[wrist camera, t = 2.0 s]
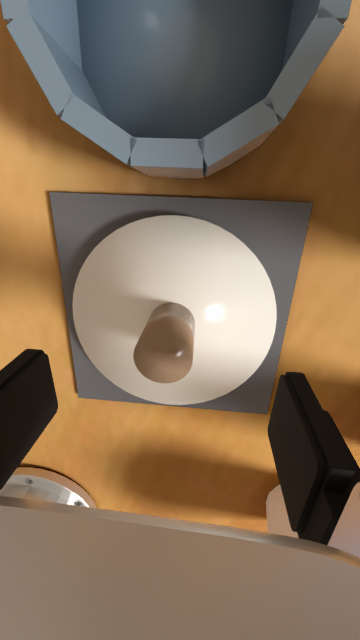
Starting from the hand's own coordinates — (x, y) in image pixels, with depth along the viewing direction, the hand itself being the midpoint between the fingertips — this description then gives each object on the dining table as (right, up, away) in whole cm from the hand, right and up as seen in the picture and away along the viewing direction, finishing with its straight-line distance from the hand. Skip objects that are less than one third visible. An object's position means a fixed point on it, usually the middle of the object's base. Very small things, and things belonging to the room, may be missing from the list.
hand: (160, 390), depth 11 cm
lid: (0, +3, +9) cm, 9 cm away
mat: (0, +3, +9) cm, 9 cm away
